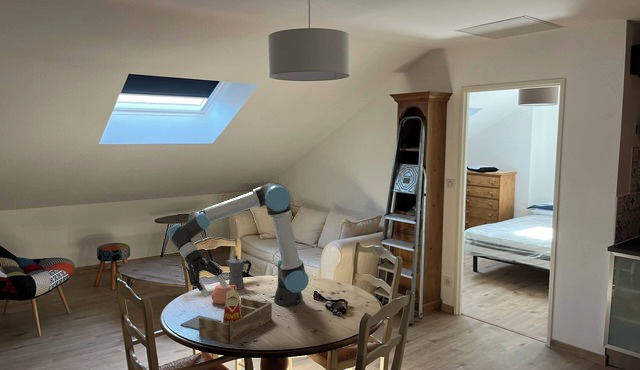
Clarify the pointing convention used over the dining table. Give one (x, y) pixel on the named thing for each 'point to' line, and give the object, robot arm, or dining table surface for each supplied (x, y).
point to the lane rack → (237, 322)
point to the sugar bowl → (221, 293)
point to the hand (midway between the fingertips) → (217, 291)
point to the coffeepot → (237, 271)
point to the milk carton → (232, 307)
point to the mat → (195, 322)
